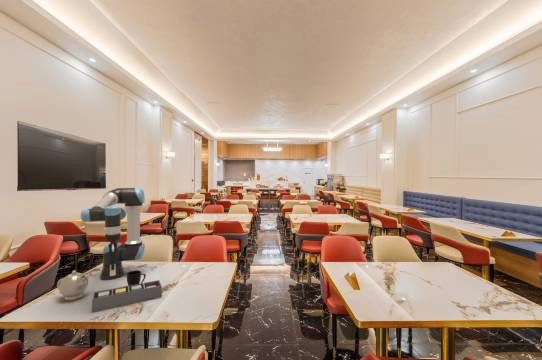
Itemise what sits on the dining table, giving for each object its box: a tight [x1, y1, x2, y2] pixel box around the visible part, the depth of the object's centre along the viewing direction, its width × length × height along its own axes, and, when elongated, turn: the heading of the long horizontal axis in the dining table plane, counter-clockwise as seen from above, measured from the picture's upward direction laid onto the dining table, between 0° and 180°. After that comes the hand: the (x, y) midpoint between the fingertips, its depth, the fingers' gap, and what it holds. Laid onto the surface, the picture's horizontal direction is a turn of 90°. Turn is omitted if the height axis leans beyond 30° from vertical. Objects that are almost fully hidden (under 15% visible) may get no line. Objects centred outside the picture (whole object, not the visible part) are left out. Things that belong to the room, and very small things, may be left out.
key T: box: [116, 288, 126, 294], centre depth 144 cm, size 5×5×4 cm
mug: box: [126, 270, 147, 286], centre depth 164 cm, size 8×12×10 cm
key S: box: [131, 285, 142, 291], centre depth 148 cm, size 5×5×4 cm
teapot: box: [56, 269, 89, 302], centre depth 149 cm, size 18×14×16 cm
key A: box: [98, 291, 109, 298], centre depth 139 cm, size 5×5×4 cm
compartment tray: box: [91, 279, 163, 313], centre depth 146 cm, size 10×34×7 cm, turn 121°
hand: (112, 275), depth 142 cm, fingers closed
